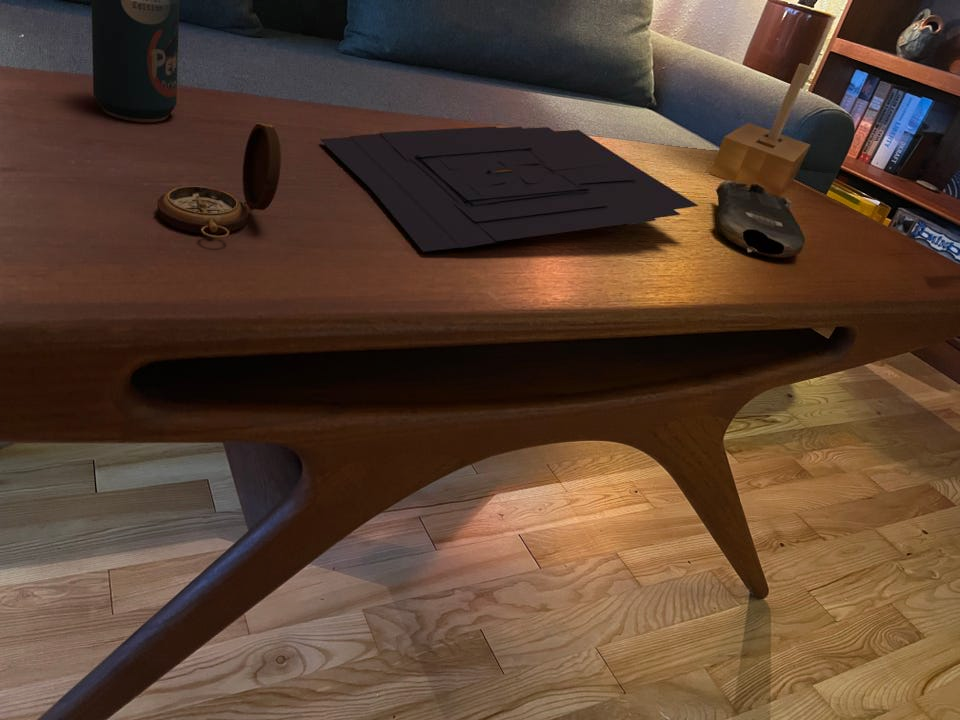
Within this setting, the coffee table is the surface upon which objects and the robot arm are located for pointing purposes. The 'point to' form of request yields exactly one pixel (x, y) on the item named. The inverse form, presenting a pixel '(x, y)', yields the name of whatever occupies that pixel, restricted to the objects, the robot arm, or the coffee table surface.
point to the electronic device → (758, 220)
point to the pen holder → (759, 159)
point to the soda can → (135, 57)
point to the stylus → (788, 101)
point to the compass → (219, 208)
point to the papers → (501, 183)
